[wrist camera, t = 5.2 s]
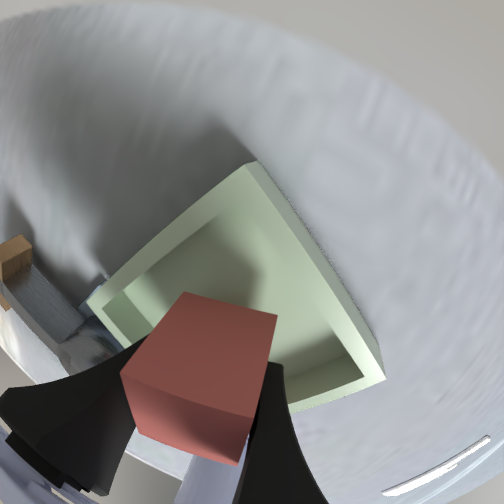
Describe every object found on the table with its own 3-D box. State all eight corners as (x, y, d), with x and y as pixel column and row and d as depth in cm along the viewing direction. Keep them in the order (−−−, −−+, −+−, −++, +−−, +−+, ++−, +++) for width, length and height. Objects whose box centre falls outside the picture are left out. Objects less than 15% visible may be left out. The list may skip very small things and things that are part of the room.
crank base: (173, 358, 16) (169, 364, 15) (107, 383, 20) (104, 388, 19) (105, 279, 15) (100, 284, 14) (58, 329, 18) (54, 332, 18)
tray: (378, 345, 13) (386, 379, 10) (224, 401, 17) (214, 430, 14) (258, 160, 11) (244, 164, 8) (112, 280, 15) (85, 301, 12)
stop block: (277, 315, 11) (253, 418, 6) (260, 378, 12) (237, 466, 8) (183, 291, 11) (119, 372, 7) (183, 356, 13) (139, 433, 8)
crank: (145, 343, 15) (118, 379, 12) (128, 377, 17) (106, 407, 14) (24, 232, 14) (-9, 249, 11) (22, 279, 16) (-5, 297, 14)
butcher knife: (495, 437, 15) (498, 444, 14) (401, 490, 22) (401, 496, 21) (485, 433, 15) (487, 440, 14) (380, 489, 21) (381, 496, 20)
